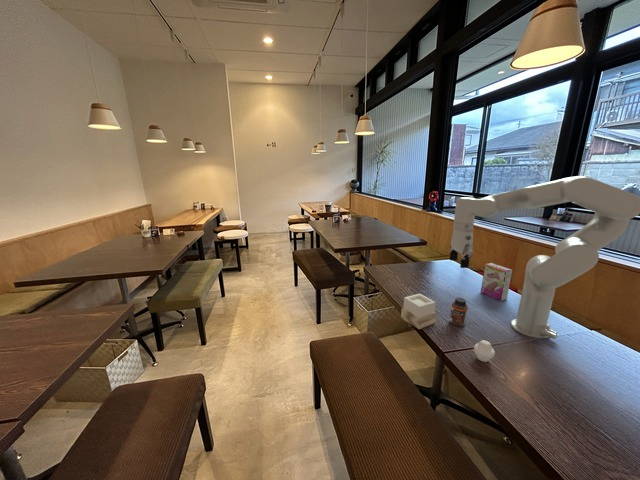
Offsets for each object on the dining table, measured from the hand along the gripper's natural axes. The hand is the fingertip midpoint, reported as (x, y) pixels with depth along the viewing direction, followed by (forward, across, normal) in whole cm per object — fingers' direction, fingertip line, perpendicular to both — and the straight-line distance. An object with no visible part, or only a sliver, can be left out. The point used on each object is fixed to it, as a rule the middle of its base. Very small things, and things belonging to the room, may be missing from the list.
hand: (458, 263), depth 115 cm
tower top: (+18, -8, +19) cm, 28 cm away
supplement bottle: (+23, -11, +3) cm, 26 cm away
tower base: (+23, -8, +19) cm, 32 cm away
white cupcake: (+23, -33, +5) cm, 41 cm away
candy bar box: (+23, +14, -28) cm, 39 cm away
